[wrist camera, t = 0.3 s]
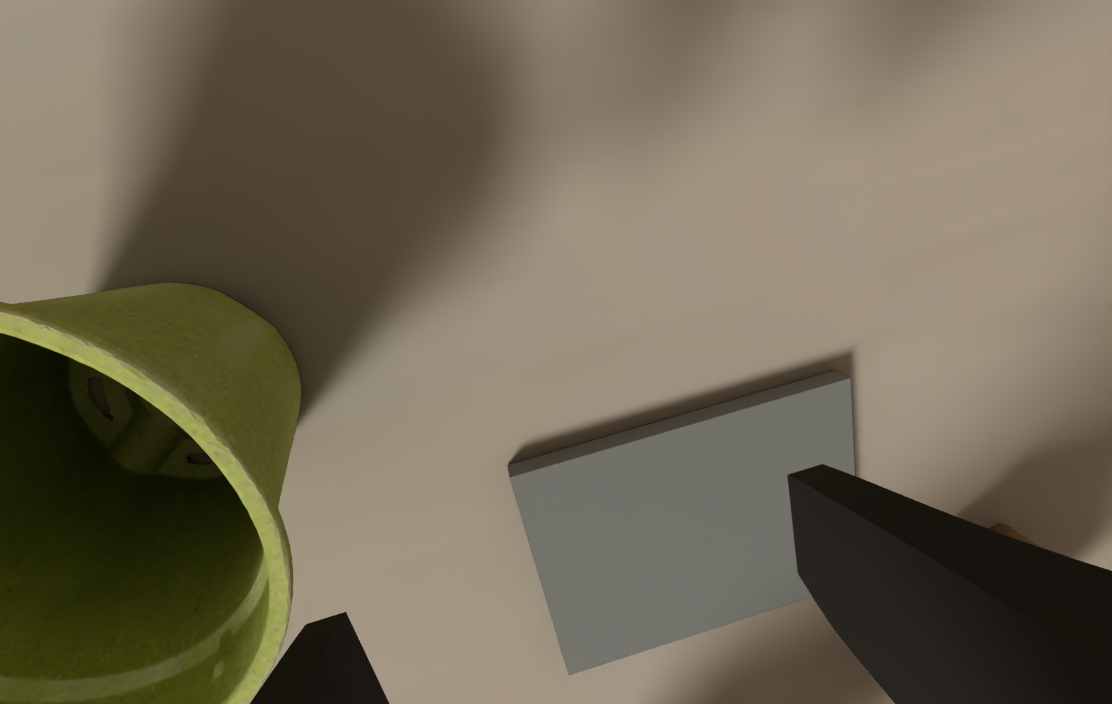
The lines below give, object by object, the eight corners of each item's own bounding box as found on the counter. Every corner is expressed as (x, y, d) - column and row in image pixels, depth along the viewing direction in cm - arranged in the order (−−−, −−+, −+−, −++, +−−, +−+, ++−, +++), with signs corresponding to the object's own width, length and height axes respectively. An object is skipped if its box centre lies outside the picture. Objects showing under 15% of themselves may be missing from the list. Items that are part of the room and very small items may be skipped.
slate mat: (846, 567, 24) (859, 581, 23) (564, 658, 23) (568, 675, 22) (836, 369, 20) (850, 378, 20) (507, 465, 19) (509, 477, 19)
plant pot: (317, 195, 16) (173, 239, 8) (392, 488, 19) (347, 737, 11) (-61, 246, 15) (-695, 361, 7) (87, 548, 18) (-216, 874, 10)
